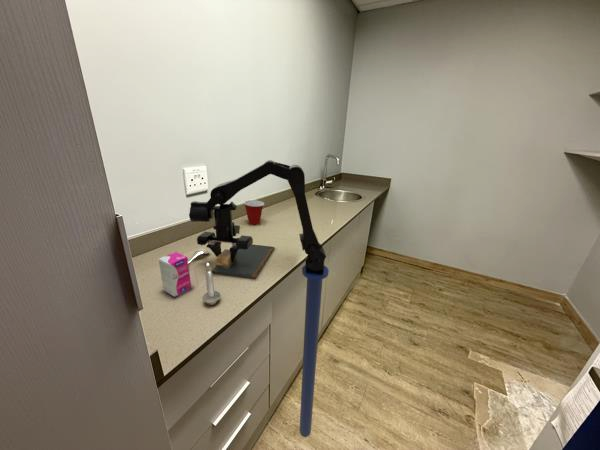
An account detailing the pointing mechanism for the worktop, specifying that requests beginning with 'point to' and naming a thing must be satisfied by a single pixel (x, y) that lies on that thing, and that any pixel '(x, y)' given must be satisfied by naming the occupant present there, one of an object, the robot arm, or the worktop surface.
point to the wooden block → (224, 260)
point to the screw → (210, 288)
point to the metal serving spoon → (198, 253)
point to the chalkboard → (247, 262)
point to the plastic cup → (254, 211)
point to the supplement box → (175, 274)
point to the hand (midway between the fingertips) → (226, 261)
